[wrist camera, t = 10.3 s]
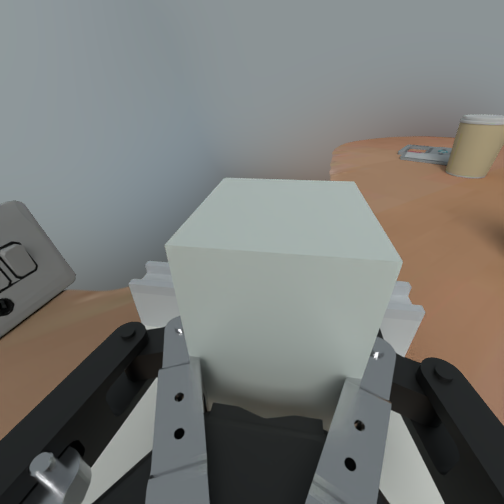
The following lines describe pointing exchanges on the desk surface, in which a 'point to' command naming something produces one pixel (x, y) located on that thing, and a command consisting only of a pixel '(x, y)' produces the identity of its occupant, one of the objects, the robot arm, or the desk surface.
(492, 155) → the coffee cup
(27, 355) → the desk surface
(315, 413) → the panel
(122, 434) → the rail mount
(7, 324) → the electrical switch
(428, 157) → the office telephone
